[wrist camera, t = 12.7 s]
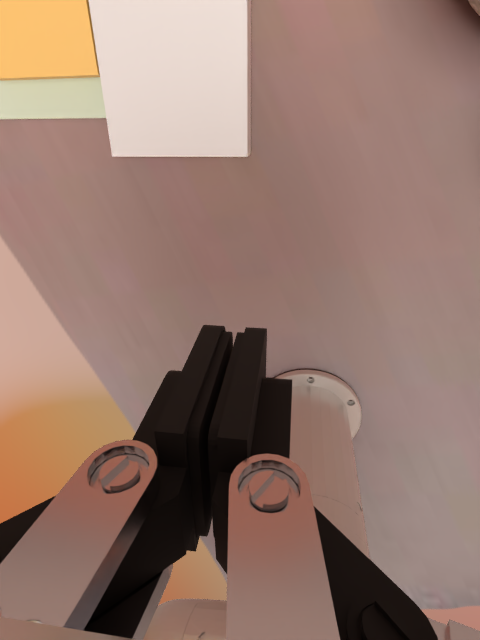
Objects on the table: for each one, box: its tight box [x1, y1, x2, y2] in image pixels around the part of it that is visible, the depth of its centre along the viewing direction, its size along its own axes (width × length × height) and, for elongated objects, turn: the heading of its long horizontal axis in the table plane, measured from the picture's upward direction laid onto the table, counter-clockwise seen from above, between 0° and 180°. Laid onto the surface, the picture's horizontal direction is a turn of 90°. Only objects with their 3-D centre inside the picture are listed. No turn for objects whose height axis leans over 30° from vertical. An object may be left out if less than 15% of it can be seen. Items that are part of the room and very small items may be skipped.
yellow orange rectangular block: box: [0, 0, 100, 81], centre depth 32 cm, size 7×10×2 cm
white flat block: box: [89, 0, 251, 157], centre depth 30 cm, size 20×12×2 cm, turn 1°
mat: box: [0, 77, 106, 119], centre depth 33 cm, size 14×14×1 cm
